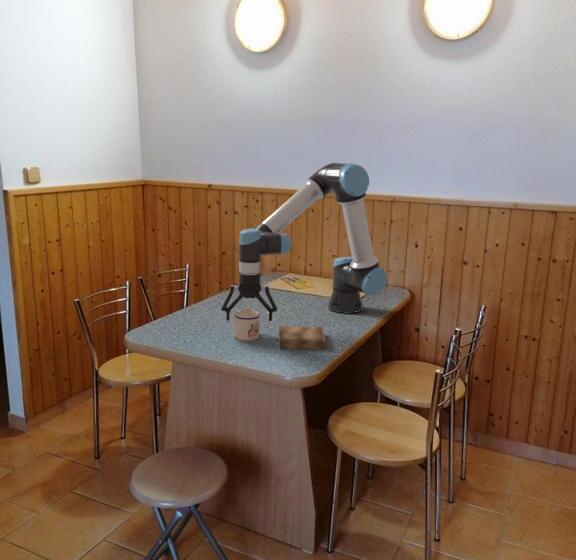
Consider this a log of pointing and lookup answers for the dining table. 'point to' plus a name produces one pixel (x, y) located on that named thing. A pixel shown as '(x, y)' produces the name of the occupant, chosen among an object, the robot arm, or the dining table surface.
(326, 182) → the robot arm
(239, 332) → the teacup with lid
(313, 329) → the walnut base
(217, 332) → the dining table surface
